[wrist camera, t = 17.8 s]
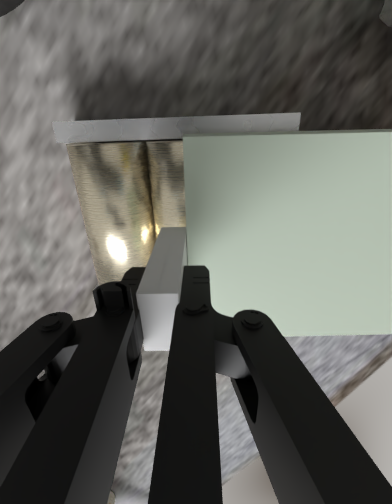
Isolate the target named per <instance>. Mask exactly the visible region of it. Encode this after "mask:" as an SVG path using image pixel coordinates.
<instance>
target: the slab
mask: <svg viewBox="0 0 392 504" xmlns="http://www.w3.org/2000/svg"><path fill="white" fill-rule="evenodd" d="M183 158H184V183H185V207H186V232H187V256H188V266H190V265H205V266H206V267H207V269H208V270H209V274H210V292H211V304H212V307H213V308H214V310H216V311H217V312H218V313H220V314H222V315H226V316H229V317H234V315H235V314H236V313H238V312H239V311H242V310H250V309H252V310H257V311H260V312H263V313H265V314H266V315H267V316H268V317H269V318H271V320H272V321H273V323H274V324H275V325H276V327H277V328H278V330H279V331H280V332H281V334H282V335H283V336H284V337H289V336H332V335H376V334H392V129H364V130H323V131H283V132H242V133H201V134H184V136H183Z"/></svg>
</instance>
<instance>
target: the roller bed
mask: <svg viewBox="0 0 392 504" xmlns="http://www.w3.org/2000/svg"><path fill="white" fill-rule="evenodd" d="M300 116H301V113H274V114H247V115H220V116H193V117H166V118H139V119H112V120H85V121H58V122H52V125H53V129H54V134H55V138H56V142H57V143H70V142H77V143H70V144H66V146H67V150H68V155H69V159H70V163H71V168H72V172H73V176H74V181H75V185H76V189H77V194H78V198H79V202H80V206H81V211H82V215H83V219H84V224H85V228H86V232H87V237H88V241H89V245H90V250H91V254H92V258H93V262H94V267H95V271H96V275H97V280H98V284H97V286H96V287H98V286H100V285H102V284H104V283H107V282H112V281H121V280H122V278H123V276H124V274H125V272H126V271H128V270H129V269H130V268H132V267H146V266H147V263H148V261H149V258H150V255H151V253H152V250H153V247H154V245H155V242H156V240H157V237H158V234H159V232H160V229H161V227H186V207H185V183H184V158H183V136H184V134H201V133H242V132H283V131H299V124H300ZM147 140H148V141H147ZM96 287H95V288H96Z"/></svg>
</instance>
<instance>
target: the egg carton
mask: <svg viewBox="0 0 392 504" xmlns="http://www.w3.org/2000/svg"><path fill="white" fill-rule="evenodd" d="M379 18H380V19H381V20H382V21H383V22H384V23H385V24H386V25H387V26H388V27H391V26H392V0H385V3H384V6H383V9H382V11H381V13H380V15H379Z"/></svg>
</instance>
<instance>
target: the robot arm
mask: <svg viewBox="0 0 392 504" xmlns="http://www.w3.org/2000/svg"><path fill="white" fill-rule="evenodd" d="M23 1H24V0H0V17H1V16H3V15H5V14H7V13H8V12H10V11H12V10H13V9H15V8H16V7H17V6H19V5H20V4H21V3H22V2H23ZM93 295H94V299H95V304H96V308H97V311H96V313H95V315H94V316H93V317H89V318H86V319H81V320H77V321H73V318H72V316H71V315H70V314H68V313H65V312H56V313H52V314H49V315H46V316H44V317H42V318H40V319H39V320H37V321H36V322H35V323H33V324H32V325H31V326H30V327H29V328H27V329H26V330H25V331H24V332H23V333H22V334H20V335H19V336H18V337H17V338H16V339H15V340H13V341H12V342H11V343H10V344H9V345H8V346H6V347H5V348H4V349H3V350H2V351H0V504H107V502H108V498H109V494H110V490H111V486H112V482H113V478H114V474H115V470H116V466H117V461H118V457H119V453H120V449H121V445H122V441H123V437H124V433H125V429H126V425H127V421H128V416H129V412H130V408H131V404H132V400H133V396H134V392H135V388H136V384H137V380H138V375H139V371H140V367H141V363H142V356H141V348H142V344H144V351H169V357H168V364H167V371H166V379H165V386H164V393H163V400H162V407H161V414H160V421H159V428H158V435H157V442H156V449H155V456H154V464H153V471H152V478H151V485H150V492H149V499H148V504H223V501H222V483H221V464H220V446H219V428H218V409H217V391H216V373H219V374H222V375H225V376H229V377H230V378H231V382H232V385H233V387H234V390H235V392H236V395H237V397H238V400H239V403H240V405H241V408H242V410H243V413H244V415H245V418H246V420H247V423H248V425H249V428H250V431H251V433H252V436H253V438H254V441H255V443H256V446H257V448H258V451H259V454H260V456H261V459H262V461H263V464H264V466H265V469H266V471H267V474H268V476H269V479H270V482H271V484H272V487H273V489H274V492H275V494H276V496H277V499H278V502H279V504H392V486H391V485H390V484H389V482H388V481H387V480H386V478H385V477H384V475H383V474H382V473H381V471H380V470H379V468H378V467H377V466H376V464H375V463H374V462H373V460H372V459H371V457H370V456H369V455H368V453H367V452H366V450H365V449H364V448H363V446H362V445H361V444H360V442H359V441H358V439H357V438H356V436H355V435H354V434H353V432H352V431H351V430H350V428H349V427H348V425H347V424H346V423H345V421H344V420H343V418H342V417H341V416H340V414H339V413H338V412H337V410H336V409H335V407H334V406H333V405H332V403H331V402H330V400H329V399H328V398H327V396H326V395H325V393H324V392H323V391H322V389H321V388H320V386H319V385H318V384H317V382H316V381H315V380H314V378H313V377H312V375H311V374H310V373H309V371H308V370H307V368H306V367H305V366H304V364H303V363H302V361H301V360H300V359H299V357H298V356H297V355H296V353H295V352H294V350H293V349H292V348H291V346H290V345H289V343H288V342H287V341H286V339H285V338H284V336H283V335H282V334H281V332H280V331H279V330H278V328H277V327H276V325H275V324H274V323H273V321H272V320H271V318H269V317H268V316H267V315H266V314H265V313H263V312H260V311H257V310H252V309H250V310H242V311H239V312H238V313H236V314H235V315H234V317H229V316H226V315H222V314H220V313H218V312H217V311H216V310H214V308H213V307H212V304H211V292H210V274H209V270H208V269H207V267H206V266H205V265H190V266H188V256H187V232H186V227H161V229H160V232H159V234H158V237H157V240H156V242H155V245H154V247H153V250H152V253H151V255H150V258H149V261H148V263H147V266H146V267H132V268H130V269H129V270H128V271H126V272H125V274H124V276H123V278H122V280H121V281H112V282H107V283H104V284H102V285H100V286H98V287H96V288H95V289H94V290H93ZM43 369H44V371H45V374H44V375H43V376H42V377H41V378H39V379H37V376H38V375H39V374H40V373H41V372H42V370H43Z"/></svg>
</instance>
